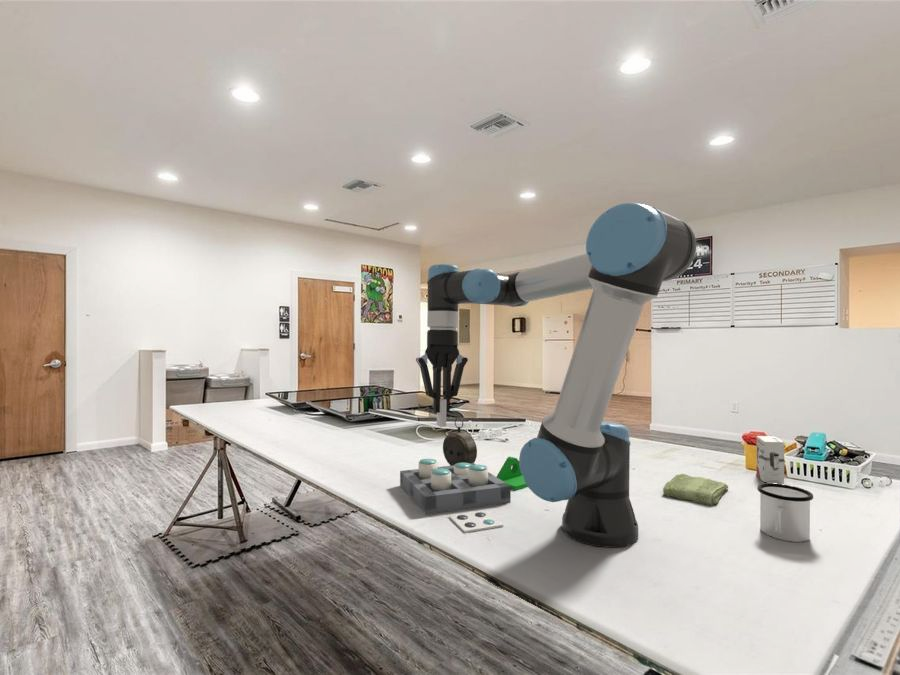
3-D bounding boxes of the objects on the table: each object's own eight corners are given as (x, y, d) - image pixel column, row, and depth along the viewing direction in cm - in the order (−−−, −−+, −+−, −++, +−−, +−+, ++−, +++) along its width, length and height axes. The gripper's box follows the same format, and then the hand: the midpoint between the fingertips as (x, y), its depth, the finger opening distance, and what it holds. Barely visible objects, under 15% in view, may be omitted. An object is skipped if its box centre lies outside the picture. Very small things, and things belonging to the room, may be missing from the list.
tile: (503, 526, 101) (503, 523, 101) (464, 532, 97) (464, 530, 97) (485, 511, 109) (485, 509, 109) (449, 517, 106) (449, 514, 106)
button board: (510, 502, 115) (510, 485, 115) (425, 514, 107) (425, 496, 107) (474, 477, 136) (474, 463, 136) (400, 485, 128) (400, 470, 128)
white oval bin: (762, 521, 104) (762, 480, 104) (816, 533, 97) (816, 490, 97) (749, 537, 95) (749, 493, 95) (807, 553, 89) (808, 505, 89)
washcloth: (730, 490, 126) (730, 478, 126) (715, 509, 112) (715, 495, 112) (677, 480, 134) (677, 469, 134) (658, 496, 121) (658, 484, 121)
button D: (475, 482, 127) (475, 466, 127) (457, 484, 125) (457, 468, 125) (467, 477, 131) (467, 461, 131) (451, 479, 130) (451, 463, 129)
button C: (491, 486, 117) (491, 468, 117) (473, 488, 115) (473, 470, 115) (482, 480, 122) (482, 463, 122) (465, 482, 120) (465, 465, 120)
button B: (440, 479, 123) (440, 462, 123) (421, 481, 121) (421, 464, 121) (433, 473, 128) (433, 457, 128) (416, 475, 126) (416, 459, 126)
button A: (454, 490, 114) (454, 472, 114) (434, 493, 112) (434, 474, 112) (446, 484, 118) (446, 467, 118) (428, 487, 117) (428, 469, 117)
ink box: (755, 474, 139) (755, 434, 139) (774, 476, 137) (775, 436, 137) (764, 483, 131) (764, 441, 131) (784, 485, 129) (785, 442, 129)
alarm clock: (478, 473, 140) (478, 418, 140) (465, 477, 136) (465, 421, 136) (452, 466, 147) (452, 414, 147) (439, 469, 144) (439, 416, 144)
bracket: (515, 491, 124) (515, 465, 124) (494, 484, 130) (494, 460, 130) (544, 482, 132) (544, 458, 132) (523, 476, 138) (523, 453, 138)
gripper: (461, 329, 120) (460, 421, 121) (412, 328, 116) (411, 424, 116) (473, 329, 113) (472, 426, 114) (421, 328, 109) (420, 430, 109)
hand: (441, 425), depth 115 cm, fingers closed
